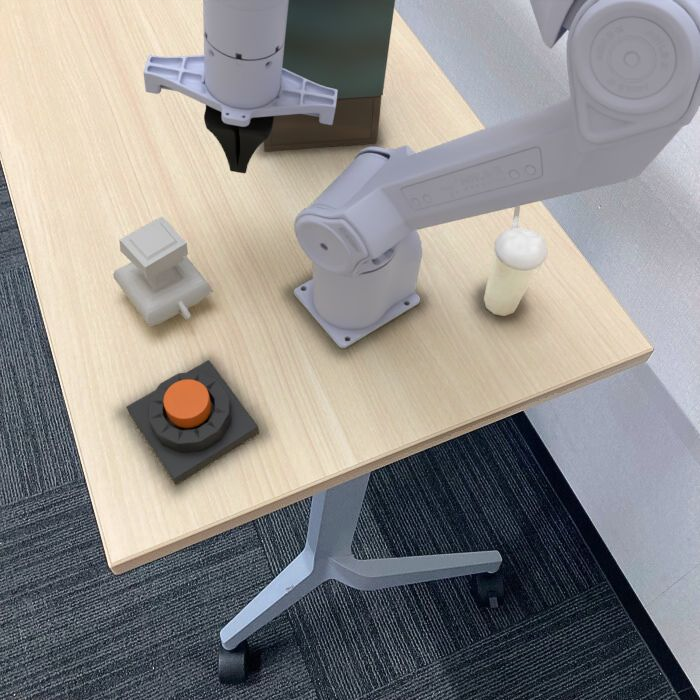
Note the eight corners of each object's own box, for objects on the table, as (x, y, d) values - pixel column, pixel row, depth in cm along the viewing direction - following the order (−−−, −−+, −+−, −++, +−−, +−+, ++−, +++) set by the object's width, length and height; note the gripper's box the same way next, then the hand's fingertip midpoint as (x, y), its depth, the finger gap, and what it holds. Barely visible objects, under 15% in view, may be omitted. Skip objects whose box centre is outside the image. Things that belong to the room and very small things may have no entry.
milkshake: (515, 275, 71) (543, 204, 62) (529, 320, 68) (559, 252, 59) (470, 278, 70) (492, 207, 62) (482, 323, 67) (506, 255, 59)
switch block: (210, 366, 64) (206, 348, 61) (259, 432, 60) (257, 416, 58) (128, 413, 61) (120, 396, 58) (175, 485, 58) (169, 470, 55)
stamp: (113, 286, 68) (89, 225, 61) (174, 254, 70) (158, 192, 63) (161, 350, 64) (142, 295, 57) (224, 314, 67) (213, 257, 59)
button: (197, 381, 60) (194, 371, 58) (220, 413, 58) (217, 403, 57) (158, 404, 58) (155, 393, 57) (181, 436, 57) (177, 427, 56)
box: (254, 78, 85) (250, 29, 80) (359, 71, 86) (362, 23, 81) (264, 151, 78) (260, 104, 73) (377, 143, 80) (381, 96, 74)
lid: (251, -21, 61) (252, -15, 60) (396, -28, 62) (398, -22, 62) (260, 98, 73) (260, 104, 72) (381, 90, 74) (382, 95, 74)
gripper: (127, 51, 48) (145, 185, 60) (341, 90, 49) (317, 213, 61) (149, -16, 51) (162, 123, 63) (349, 23, 53) (324, 151, 65)
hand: (239, 163), depth 62 cm, fingers closed
